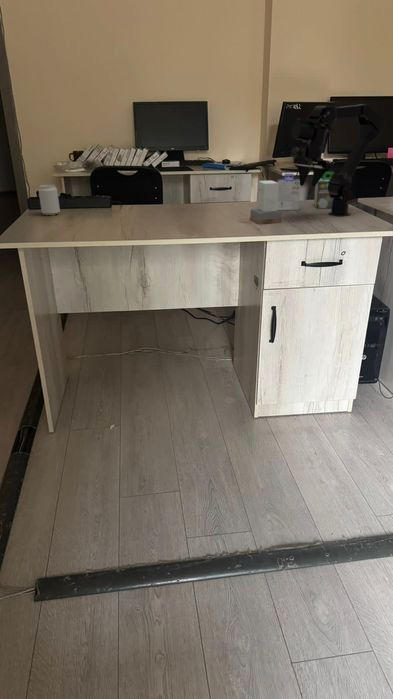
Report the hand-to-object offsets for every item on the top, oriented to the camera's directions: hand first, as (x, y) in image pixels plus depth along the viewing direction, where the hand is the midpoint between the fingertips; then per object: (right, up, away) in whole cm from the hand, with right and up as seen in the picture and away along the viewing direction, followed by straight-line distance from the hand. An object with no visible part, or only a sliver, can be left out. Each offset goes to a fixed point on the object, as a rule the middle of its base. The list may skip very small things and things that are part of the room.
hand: (307, 186), depth 195 cm
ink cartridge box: (-3, -2, +24) cm, 25 cm away
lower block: (-16, -14, +3) cm, 21 cm away
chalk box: (+14, 0, +29) cm, 32 cm away
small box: (-15, -9, +1) cm, 18 cm away
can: (-105, -6, +21) cm, 107 cm away
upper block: (-16, -12, +2) cm, 20 cm away
